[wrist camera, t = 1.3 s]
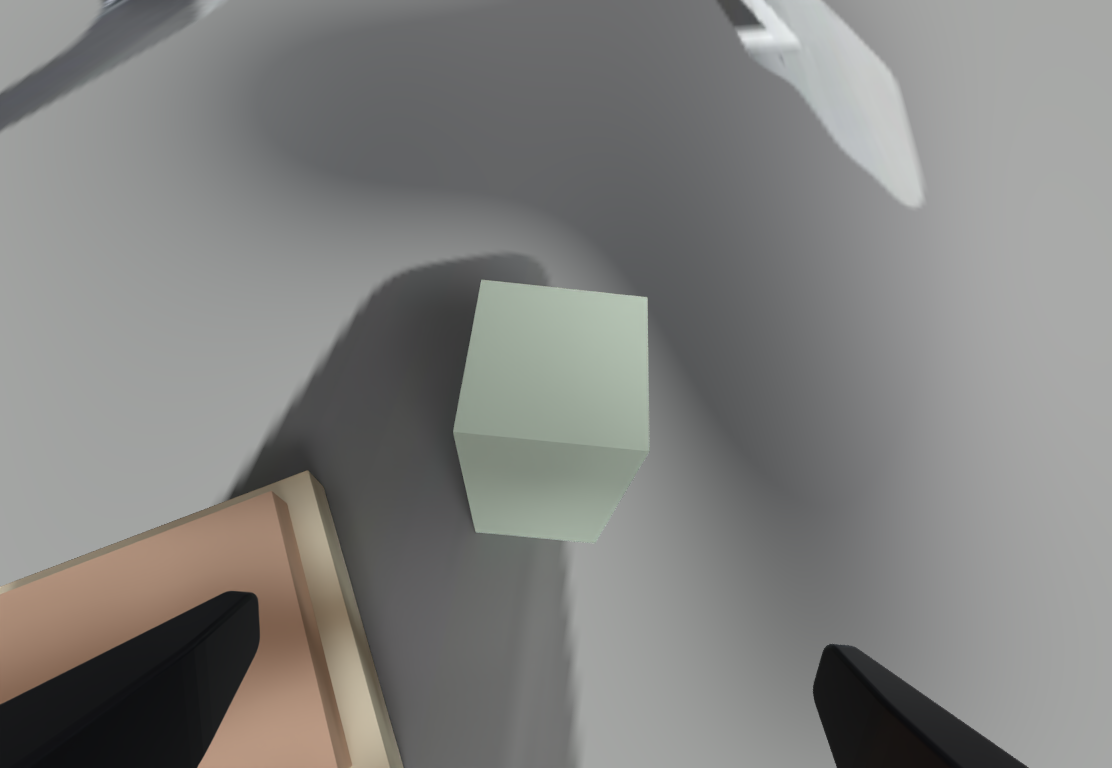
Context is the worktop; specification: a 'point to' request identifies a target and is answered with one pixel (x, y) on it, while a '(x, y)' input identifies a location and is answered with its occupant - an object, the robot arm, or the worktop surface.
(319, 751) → the stepped square pedestal
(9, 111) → the worktop surface
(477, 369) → the sage brick
